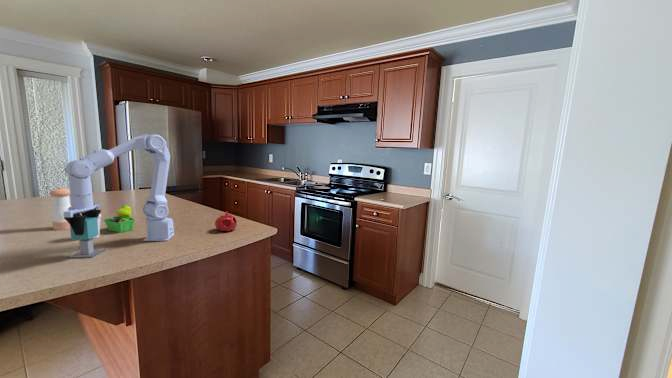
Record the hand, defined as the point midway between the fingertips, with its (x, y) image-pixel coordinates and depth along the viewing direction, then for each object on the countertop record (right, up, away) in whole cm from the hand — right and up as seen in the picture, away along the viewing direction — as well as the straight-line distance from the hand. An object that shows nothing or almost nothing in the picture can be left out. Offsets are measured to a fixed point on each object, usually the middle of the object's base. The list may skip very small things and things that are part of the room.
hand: (85, 232), depth 98 cm
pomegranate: (+36, -5, +36) cm, 51 cm away
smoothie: (-14, -5, +19) cm, 24 cm away
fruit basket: (-11, -4, +31) cm, 33 cm away
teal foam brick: (0, -2, 0) cm, 2 cm away
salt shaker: (-37, -3, +30) cm, 48 cm away
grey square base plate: (0, -8, +1) cm, 8 cm away
